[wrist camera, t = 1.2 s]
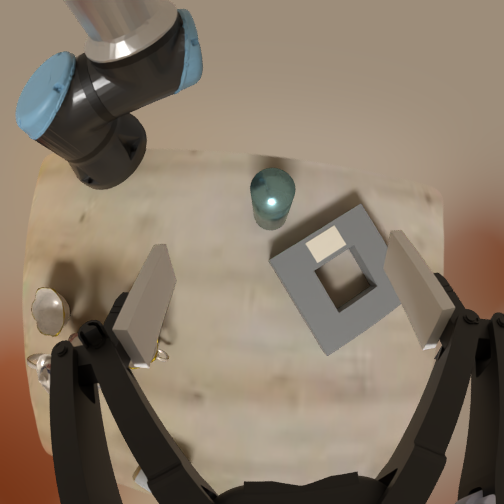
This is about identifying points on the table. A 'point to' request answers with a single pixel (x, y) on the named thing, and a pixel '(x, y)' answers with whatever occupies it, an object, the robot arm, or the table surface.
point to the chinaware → (58, 330)
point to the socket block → (313, 293)
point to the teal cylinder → (272, 197)
